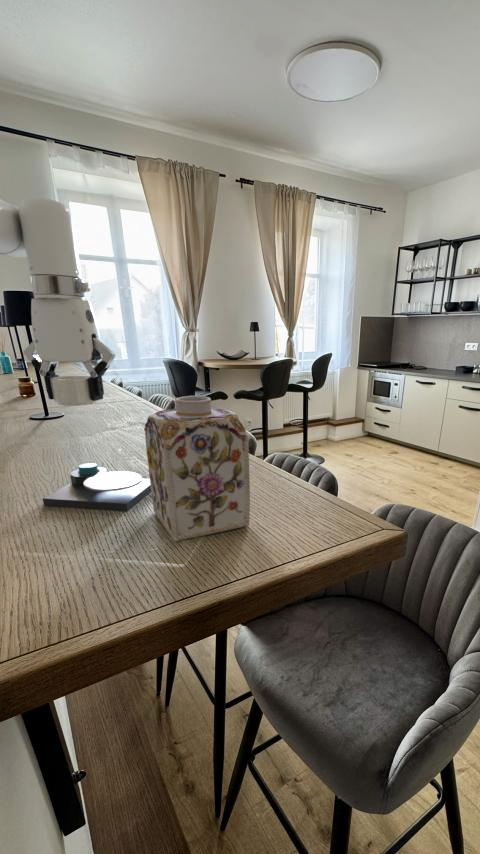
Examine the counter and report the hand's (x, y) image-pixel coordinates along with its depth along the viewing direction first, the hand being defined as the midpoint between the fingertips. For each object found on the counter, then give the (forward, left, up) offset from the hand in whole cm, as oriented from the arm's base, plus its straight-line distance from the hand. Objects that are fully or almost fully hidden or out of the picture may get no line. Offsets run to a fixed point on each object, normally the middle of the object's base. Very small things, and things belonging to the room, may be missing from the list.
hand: (76, 398), depth 75 cm
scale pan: (+11, -11, -12) cm, 19 cm away
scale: (+8, -10, -15) cm, 20 cm away
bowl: (0, 0, -1) cm, 1 cm away
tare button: (+4, -6, -12) cm, 14 cm away
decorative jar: (+27, -17, -15) cm, 35 cm away
